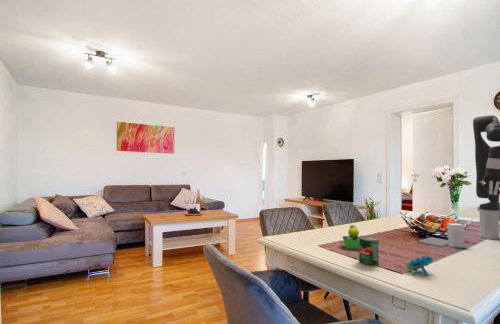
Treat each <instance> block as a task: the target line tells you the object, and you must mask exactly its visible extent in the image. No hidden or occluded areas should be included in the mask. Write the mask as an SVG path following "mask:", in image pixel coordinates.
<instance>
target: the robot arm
mask: <svg viewBox="0 0 500 324" xmlns="http://www.w3.org/2000/svg"><path fill="white" fill-rule="evenodd" d="M472 127H473V137H474V147H475V148H474V157H475V159H474V161H475V173H476V174H475V175H476V179H475V180H476V182H475V185H476V186H475V192H476V193H475V194H476V196H477V197H478V198H480V199H488V202H486V203H481V204H479V207H478V210H479V238H482V237H483V239H487V240H500V145H495V146H490V144H488V143H487V142H486V140H485V139H484V138H483V135H482V133H486V139H487V140H488V141H489V142H493V143H495V142H496V143H497V142H498V143H499V142H500V120H499V118H498V117H497V116H496V115H493V114H492V115H484V116H477V117H476V116H475V117H474V118H473V120H472Z"/></svg>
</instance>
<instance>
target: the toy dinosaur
mask: <svg viewBox="0 0 500 324" xmlns="http://www.w3.org/2000/svg"><path fill="white" fill-rule="evenodd" d="M433 261H434V258H433V257H432V256H430V255H427V256H426V255H423V256H421V258H420V257H416V258H415V259H412V260H410V262H405V263H404V264H405V267H406V268H407V269H408V270H409V271H411V273H412V274H413V276H416V273H415V270H418V269H421V270H422V272H423V274H424V275H425V276H428V275H429V273H428V271H427V270H426V269H425V267H426V266H427V267H428V266H429V264H431V263H433Z"/></svg>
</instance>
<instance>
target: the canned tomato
mask: <svg viewBox="0 0 500 324" xmlns="http://www.w3.org/2000/svg"><path fill="white" fill-rule="evenodd" d="M358 237H359V250H358V262H359V264H361V265H363V266H366V267H378V266H379V265H380V261H379V259H380V258H379V257H380V256H379V255H380V253H379V245H380V244H379V241H380V240H379V238H378V237H375V236H370V235H359V236H358Z"/></svg>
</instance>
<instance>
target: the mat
mask: <svg viewBox="0 0 500 324" xmlns="http://www.w3.org/2000/svg"><path fill="white" fill-rule="evenodd" d="M417 243H421V244H426V245H431V246H434V247H435V246H436V247H438V248H439V247H440V248H442V247H445V246H449V245H448V239H443V238H437V237H433V236H430V237H426V238H424V239H420V240H417Z"/></svg>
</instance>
